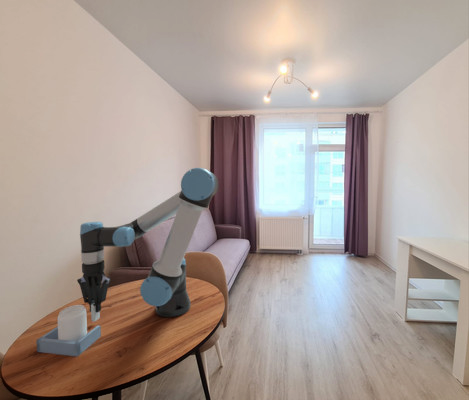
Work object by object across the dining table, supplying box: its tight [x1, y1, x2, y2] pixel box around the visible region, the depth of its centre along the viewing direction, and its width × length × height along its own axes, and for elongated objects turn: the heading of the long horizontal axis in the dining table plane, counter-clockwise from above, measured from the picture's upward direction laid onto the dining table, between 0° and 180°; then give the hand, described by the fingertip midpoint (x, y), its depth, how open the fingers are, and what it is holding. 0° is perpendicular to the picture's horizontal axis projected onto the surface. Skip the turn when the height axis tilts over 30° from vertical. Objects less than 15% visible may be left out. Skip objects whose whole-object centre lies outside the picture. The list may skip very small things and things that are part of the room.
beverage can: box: [56, 304, 88, 342], centre depth 76 cm, size 8×8×12 cm
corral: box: [35, 324, 102, 358], centre depth 76 cm, size 15×10×4 cm, turn 81°
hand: (95, 319), depth 87 cm, fingers closed
